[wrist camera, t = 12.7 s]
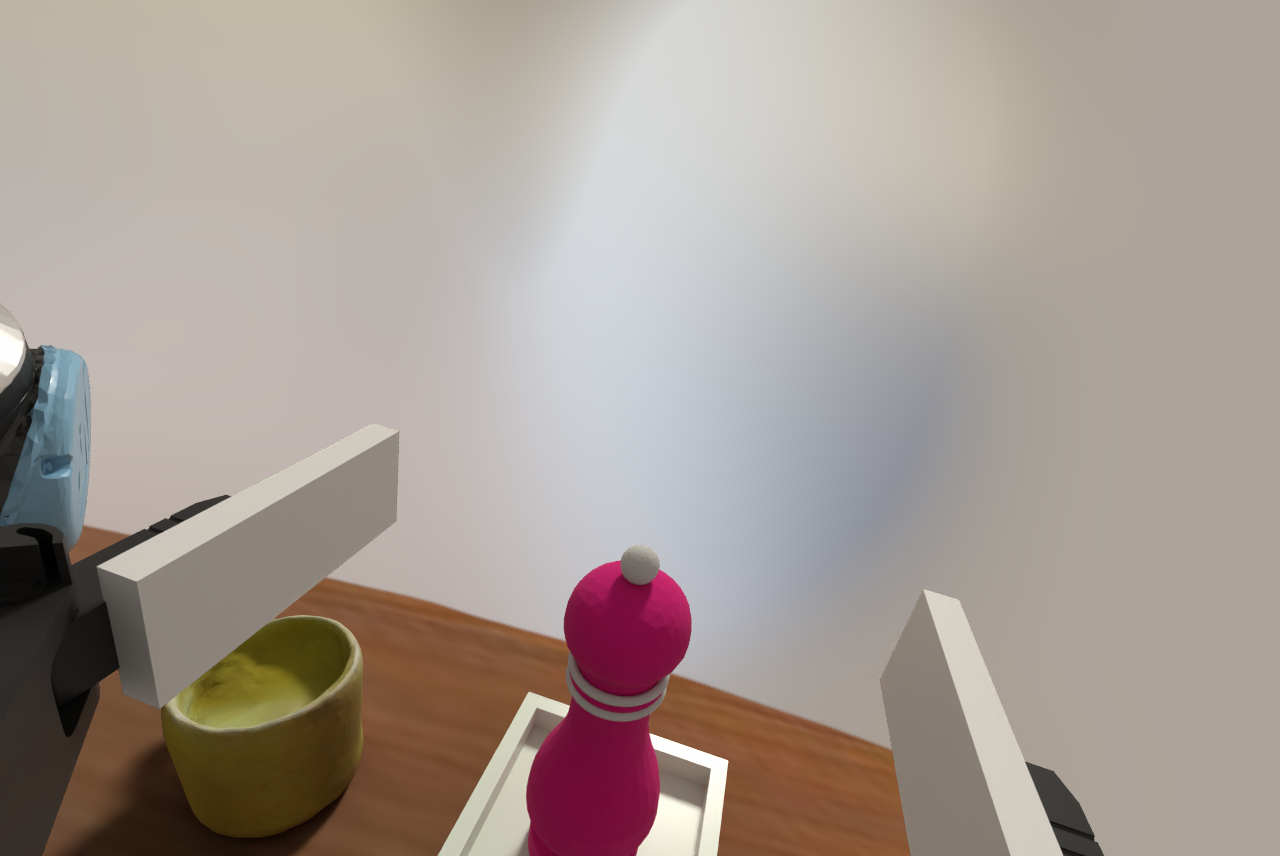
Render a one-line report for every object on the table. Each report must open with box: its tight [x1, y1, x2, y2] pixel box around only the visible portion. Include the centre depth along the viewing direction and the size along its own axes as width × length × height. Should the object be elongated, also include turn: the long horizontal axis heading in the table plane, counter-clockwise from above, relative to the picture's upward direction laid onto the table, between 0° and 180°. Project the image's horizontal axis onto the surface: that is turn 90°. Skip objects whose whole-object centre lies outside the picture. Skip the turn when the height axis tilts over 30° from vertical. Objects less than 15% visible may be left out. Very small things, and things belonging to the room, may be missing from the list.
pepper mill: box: [526, 545, 691, 856], centre depth 30 cm, size 7×7×20 cm
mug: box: [161, 615, 363, 838], centre depth 35 cm, size 12×10×10 cm
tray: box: [438, 692, 728, 856], centre depth 33 cm, size 14×14×2 cm
